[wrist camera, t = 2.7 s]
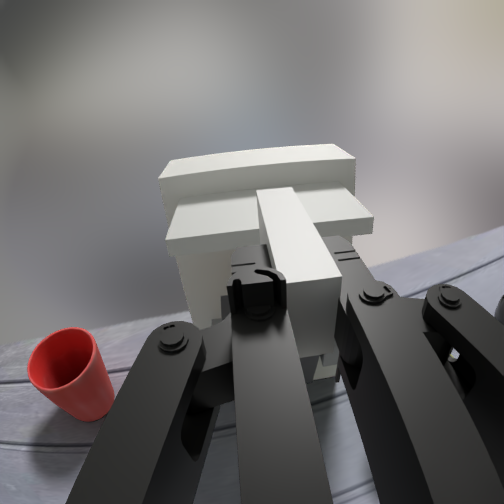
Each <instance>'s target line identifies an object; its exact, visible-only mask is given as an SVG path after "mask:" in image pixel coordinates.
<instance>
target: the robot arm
mask: <svg viewBox="0 0 504 504" xmlns="http://www.w3.org/2000/svg"><path fill="white" fill-rule="evenodd" d="M256 196H257V208H258V221H259V233H260V245H253V246H243V247H237V248H236V249H235V251H234V252H233V254H232V255H231V273H232V276H231V277H230V278H229V279H228V282H227V286H226V287H227V293H228V299H229V306H230V313H229V315H228V316H227V317H226V318H225V319H224V320H222V321H221V322H219V323H218V324H215V325H213V326H211V327H208V328H205V329H202V330H199V328H198V327H196V326H195V325H193V324H192V323H188V322H184V321H175V322H170V323H166V324H163V325H161V326H160V327H158V328H156V329H155V330H153V332H152V333H151V334H150V335H149V337H148V338H147V340H146V342H145V343H144V345H143V347H142V349H141V351H140V353H139V354H138V356H137V358H136V360H135V362H134V364H133V366H132V368H131V369H130V371H129V373H128V375H127V377H126V379H125V381H124V383H123V385H122V387H121V389H120V391H119V392H118V394H117V396H116V398H115V400H114V402H113V404H112V406H111V408H110V410H109V412H108V414H107V416H106V418H105V420H104V422H103V424H102V426H101V428H100V430H99V432H98V434H97V436H96V438H95V441H94V443H93V445H92V447H91V449H90V451H89V453H88V455H87V457H86V459H85V462H84V464H83V466H82V468H81V470H80V472H79V474H78V477H77V479H76V481H75V483H74V486H73V488H72V490H71V492H70V494H69V497H68V499H67V501H66V504H193V501H194V497H195V494H196V490H197V487H198V483H199V480H200V476H201V473H202V469H203V466H204V462H205V459H206V455H207V452H208V448H209V445H210V441H211V438H212V434H213V430H214V427H215V423H216V420H217V416H218V413H219V409H220V405H222V404H224V403H227V402H230V401H232V400H235V413H236V430H237V446H238V462H239V477H240V491H241V504H333V500H332V496H331V491H330V487H329V482H328V478H327V473H326V469H325V464H324V460H323V455H322V451H321V447H320V442H319V438H318V433H317V429H316V425H315V421H314V416H313V412H312V408H311V404H310V399H309V395H308V391H307V387H306V383H305V379H304V374H303V370H302V366H301V362H300V358H303V357H309V356H316V355H322V354H328V353H333V351H334V344H335V341H336V344H337V347H338V349H339V357H338V362H337V368H336V374H335V383H336V382H339V380H340V375H341V376H342V379H343V382H344V385H345V388H346V391H347V394H348V398H349V401H350V404H351V407H352V410H353V413H354V416H355V419H356V423H357V426H358V429H359V432H360V436H361V439H362V442H363V445H364V449H365V452H366V455H367V459H368V462H369V466H370V469H371V472H372V476H373V479H374V483H375V487H376V490H377V494H378V497H379V501H380V504H504V295H503V296H502V297H501V299H500V301H499V303H498V306H497V308H496V311H495V317H493V316H492V315H491V314H490V313H489V312H488V311H486V310H485V309H484V308H483V307H482V306H481V305H479V304H478V303H477V302H476V301H475V300H473V299H472V298H471V297H470V296H469V295H467V294H466V293H465V292H464V291H462V290H460V289H459V288H457V287H454V286H451V285H448V284H438V285H434V286H432V287H431V288H429V289H428V291H427V294H426V297H425V299H415V298H403V297H400V296H399V295H398V293H397V292H396V291H395V290H394V289H393V288H392V287H391V286H390V285H388V284H386V283H384V282H381V281H377V280H375V279H374V277H373V276H372V274H371V273H370V271H369V270H368V268H367V267H366V265H365V264H364V262H363V261H362V259H360V257H359V255H358V253H357V252H355V249H354V248H353V246H352V245H351V243H350V242H349V241H347V240H346V239H344V238H343V237H341V236H339V235H337V236H328V237H321V236H320V235H319V233H318V231H317V229H316V228H315V226H314V224H313V222H312V221H311V219H310V217H309V215H308V214H307V212H306V210H305V208H304V207H303V205H302V203H301V202H300V200H299V198H298V197H297V195H296V193H295V192H294V190H293V188H292V187H286V188H274V189H264V190H256ZM453 348H454V349H455V350H456V351H457V352H458V353H459V354H460V355H459V357H458V359H455V358H453V357H452V356H451V355H450V354H451V352H452V350H453Z"/></svg>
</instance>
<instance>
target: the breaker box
mask: <svg viewBox="0 0 504 504" xmlns="http://www.w3.org/2000/svg"><path fill="white" fill-rule="evenodd" d="M355 165H356V159H355V158H354V157H352V156H351V155H350V154H348V153H347V152H345V151H343V150H342V149H340V148H339V147H337V146H336V145H334V144H323V145H322V144H321V145H303V146H290V147H276V148H265V149H254V150H246V151H237V152H227V153H219V154H211V155H204V156H197V157H191V158H183V159H177V160H171V161H170V162H169V163H168V165H167V166H166V168H165V169H164V171H163V172H162V174H161V175H160V177H159V178H158V180H159V185H160V190H161V195H162V200H163V205H164V209H165V214H166V218H167V223H168V227H169V231H168V234H167V236H166V239H165V241H166V245H167V249H168V253H169V257H172V256H175V257H176V261H177V265H178V269H179V272H180V277H181V281H182V284H183V288H184V292H185V295H186V300H187V303H188V307H189V310H190V314H191V318H192V321H193V325H195V326H196V327H198V328H199V330H202V329H205V328H208V327H211V326H213V325H215V324H218V323H219V322H221V321H222V317H221V296H224V295H228V293H227V287H226V286H227V282H228V279H229V278H230V277H231V276H232V273H231V255H232V254H233V252H234V251H235V249H236V248H237V247H243V246H253V245H260V233H259V221H258V208H257V196H256V190H264V189H274V188H286V187H292V188H293V190H294V192H295V193H296V195H297V197H298V198H299V200H300V202H301V203H302V205H303V207H304V208H305V210H306V212H307V214H308V215H309V217H310V219H311V221H312V222H313V224H314V226H315V228H316V229H317V231H318V233H319V235H320V236H321V237H328V236H337V235H339V236H341V237H343V238H344V239H346V240H347V241H349V242H350V243H351V245H352V236H355V235H364V234H372V230H373V220H374V216H373V215H371V213H370V212H369V211H368V210H367V209H366V208H365V207H364V206H363V205H362V204H361V203H360V202H359V201H358V200H357V199H356V198H355ZM338 357H339V349H338V347H337V344H336V341H335V344H334V351H333V353H328V354H322V355H320V356H319V360H318V363H317V367H316V371H315V374H314V378H313V380H317V379H322V378H328V377H333V376H335V374H336V368H337V362H338Z"/></svg>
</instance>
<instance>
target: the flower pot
mask: <svg viewBox="0 0 504 504" xmlns="http://www.w3.org/2000/svg"><path fill="white" fill-rule="evenodd" d="M27 371H28V377H29V379H30V381H31V383H32V384H33V385H34V387H36V388H37V389H38V390H39V391H40V392H41V393H42V394H43V395H45V396H46V397H47V398H48V399H50V400H51V401H52V402H53V403H55V404H56V405H57V406H59V407H60V408H62V409H63V410H64V411H66V412H67V413H69V414H70V415H72V416H73V417H75V418H76V419H78V420H81V421H85V422H91V421H95V420H98V419H100V418H102V417H103V416H104V415H106V414H107V413H108V411H109V410H110V408H111V406H112V404H113V402H114V390H113V387H112V385H111V382H110V379H109V376H108V373H107V371H106V368H105V365H104V363H103V360H102V357H101V355H100V352H99V349H98V347H97V344H96V342H95V339H94V337H93V336H92V335H91V334H90V333H89V332H88V331H87V330H85V329H82V328H77V327H71V328H64V329H61V330H58V331H56V332H54V333H52V334H50V335H49V336H47V337H46V338H44V339H43V340H42V341H41V342H40V343H39V344H38V345H37V346H36V348H35V349H34V350H33V352H32V354H31V356H30V358H29V362H28V367H27Z"/></svg>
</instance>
